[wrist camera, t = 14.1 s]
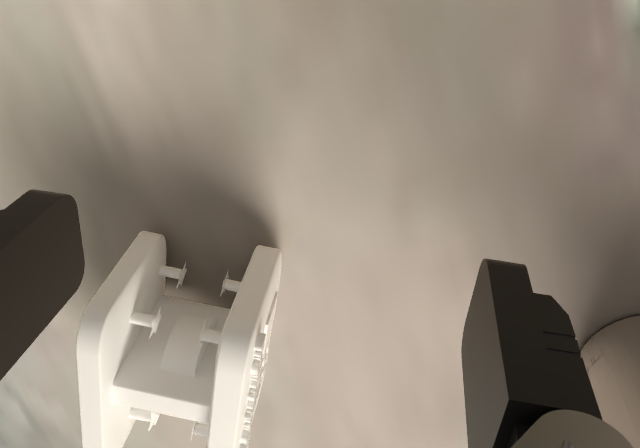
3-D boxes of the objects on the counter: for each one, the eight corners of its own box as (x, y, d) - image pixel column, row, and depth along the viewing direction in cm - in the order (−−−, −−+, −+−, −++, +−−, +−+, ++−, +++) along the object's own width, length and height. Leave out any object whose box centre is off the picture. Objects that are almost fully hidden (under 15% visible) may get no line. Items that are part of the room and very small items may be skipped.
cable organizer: (147, 204, 43) (68, 309, 33) (294, 236, 42) (259, 351, 32) (145, 357, 50) (80, 478, 41) (268, 384, 50) (233, 512, 40)
